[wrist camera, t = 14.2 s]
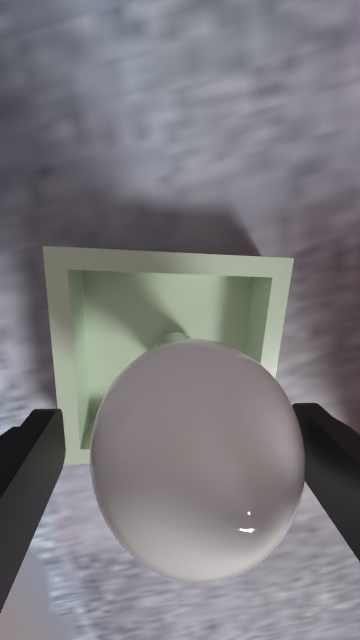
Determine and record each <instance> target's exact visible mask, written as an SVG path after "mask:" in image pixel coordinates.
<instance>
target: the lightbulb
mask: <svg viewBox="0 0 360 640" xmlns="http://www.w3.org/2000/svg"><path fill="white" fill-rule="evenodd" d="M90 471H91V479H92V484H93V489H94V493H95V497H96V500H97V503H98V506H99V508H100V511H101V513H102V515H103V518H104V520H105V522H106V523H107V525H108V527H109V528H110V530H111V532H112V533H113V535H114V536H115V537H116V539H117V540H118V541H119V543H120V544H121V545H122V546H123V547H124V548H125V549H126V550H127V551H128V552H129V553H130V554H131V555H132V556H133V557H134V558H135V559H136V560H138V561H139V562H140V563H142V564H143V565H144V566H146V567H148V568H149V569H151V570H153V571H155V572H156V573H159V574H161V575H163V576H166V577H168V578H171V579H174V580H178V581H183V582H190V583H212V582H218V581H223V580H227V579H230V578H233V577H236V576H238V575H240V574H242V573H244V572H246V571H248V570H250V569H251V568H253V567H255V566H256V565H257V564H259V563H260V562H262V561H263V560H264V559H265V558H266V557H267V556H268V555H269V554H270V553H271V552H272V551H273V550H274V549H275V548H276V547H277V546H278V545H279V543H280V542H281V541H282V539H283V538H284V536H285V535H286V533H287V532H288V530H289V528H290V526H291V524H292V522H293V520H294V518H295V516H296V513H297V510H298V508H299V505H300V501H301V497H302V493H303V488H304V481H305V449H304V442H303V437H302V432H301V428H300V425H299V422H298V419H297V416H296V413H295V411H294V409H293V406H292V404H291V402H290V400H289V399H288V397H287V395H286V393H285V392H284V390H283V389H282V387H281V386H280V384H279V383H278V382H277V381H276V379H275V378H274V377H273V376H272V375H271V374H270V373H269V372H268V371H267V370H266V369H265V368H264V367H263V366H262V365H261V364H260V363H259V362H257V361H256V360H255V359H253V358H252V357H251V356H249V355H247V354H246V353H244V352H242V351H241V350H239V349H237V348H234V347H232V346H230V345H227V344H224V343H221V342H217V341H212V340H206V339H191V338H190V337H189V336H188V335H186V334H184V333H180V332H172V333H168V334H165V335H164V336H162V337H161V338H160V339H159V340H158V341H157V342H156V344H155V346H154V348H152V349H150V350H148V351H147V352H145V353H143V354H142V355H140V356H139V357H137V358H136V359H135V360H133V361H132V362H131V363H130V364H129V365H128V366H126V367H125V368H124V370H123V371H122V372H121V373H120V374H119V375H118V376H117V378H116V379H115V380H114V381H113V383H112V384H111V386H110V387H109V389H108V391H107V392H106V394H105V396H104V398H103V400H102V402H101V404H100V407H99V409H98V412H97V415H96V418H95V422H94V426H93V430H92V436H91V444H90Z"/></svg>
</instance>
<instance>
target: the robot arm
mask: <svg viewBox="0 0 360 640" xmlns="http://www.w3.org/2000/svg"><path fill="white" fill-rule="evenodd" d="M292 406H293V409H294V411H295V413H296V416H297V419H298V422H299V425H300V428H301V432H302V437H303V442H304V449H305V482H306V483H307V485H308V486H309V488H310V489H311V491H312V492H313V494H314V495H315V496H316V498H317V499H318V501H319V502H320V504H321V505H322V507H323V508H324V510H325V511H326V513H327V514H328V516H329V517H330V519H331V520H332V522H333V523H334V524H335V526H336V527H337V529H338V530H339V532H340V533H341V535H342V536H343V538H344V539H345V541H346V542H347V544H348V545H349V547H350V548H351V550H352V551H353V552H354V554H355V555H356V557H357V558H358V560H359V561H360V435H359V434H358V433H357V432H355V431H354V430H353V429H352V428H351V427H349V426H348V425H346V424H344V423H342V422H341V421H339V420H337V419H336V418H334V417H332V416H331V415H330V414H329V413H328V412H327V411H326V410H324V409H323V408H322V407H321V406H320V405H319V404H317V403H295V404H293V405H292ZM65 453H66V446H65V434H64V423H63V413H62V410H61V409H35V410H33V411H32V412H31V413H30V415H29V416H28V417H27V418H26V420H25V421H24V422H23V424H22V425H21V426H20V427H12V428H11V429H9V430H8V431H6V432H5V433H4V434H2V435H1V436H0V613H1V610H2V608H3V605H4V603H5V601H6V599H7V596H8V594H9V592H10V589H11V587H12V585H13V582H14V580H15V578H16V575H17V573H18V571H19V568H20V566H21V564H22V561H23V559H24V557H25V554H26V552H27V550H28V547H29V545H30V543H31V540H32V538H33V536H34V533H35V531H36V529H37V526H38V524H39V522H40V520H41V517H42V515H43V513H44V510H45V508H46V506H47V503H48V501H49V499H50V496H51V494H52V492H53V489H54V487H55V485H56V482H57V480H58V478H59V475H60V473H61V471H62V468H63V465H64V460H65Z"/></svg>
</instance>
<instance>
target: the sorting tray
mask: <svg viewBox="0 0 360 640" xmlns="http://www.w3.org/2000/svg"><path fill="white" fill-rule="evenodd" d="M42 248H43V258H44V269H45V279H46V290H47V301H48V311H49V322H50V332H51V343H52V354H53V364H54V375H55V385H56V396H57V407H58V409H61V410H62V413H63V423H64V434H65V446H66V453H65V460H64V465H73V464H90V444H91V436H92V430H93V426H94V422H95V418H96V415H97V412H98V409H99V407H100V404H101V402H102V400H103V398H104V396H105V394H106V392H107V391H108V389H109V387H110V386H111V384H112V383H113V381H114V380H115V379H116V378H117V376H118V375H119V374H120V373H121V372H122V371H123V370H124V368H125V367H126V366H128V365H129V364H130V363H131V362H132V361H133V360H135V359H136V358H137V357H139V356H140V355H142V354H143V353H145V352H147V351H148V350H150V349H152V348H154V346H155V344H156V342H157V341H158V340H159V339H160V338H161V337H162V336H164V335H165V334H168V333H172V332H180V333H184V334H186V335H188V336H189V337H190V338H191V339H206V340H212V341H217V342H221V343H224V344H227V345H230V346H232V347H234V348H237V349H239V350H241V351H242V352H244V353H246V354H247V355H249V356H251V357H252V358H253V359H255V360H256V361H257V362H259V363H260V364H261V365H262V366H263V367H264V368H265V369H266V370H267V371H268V372H269V373H270V374H271V375H272V376H273V377H274V378H275V375H276V369H277V363H278V357H279V350H280V344H281V338H282V331H283V325H284V319H285V312H286V306H287V300H288V294H289V287H290V281H291V275H292V268H293V262H294V258H279V257H259V256H238V255H218V254H198V253H178V252H157V251H137V250H117V249H97V248H77V247H56V246H42Z"/></svg>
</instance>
